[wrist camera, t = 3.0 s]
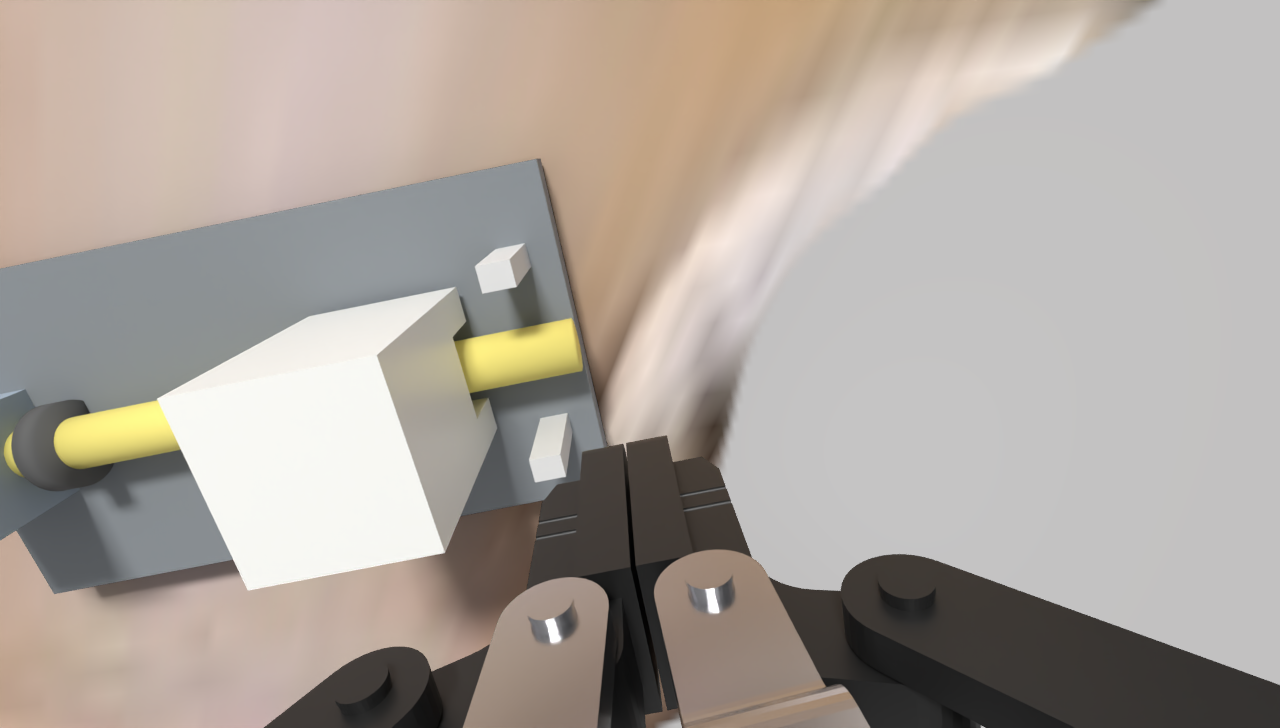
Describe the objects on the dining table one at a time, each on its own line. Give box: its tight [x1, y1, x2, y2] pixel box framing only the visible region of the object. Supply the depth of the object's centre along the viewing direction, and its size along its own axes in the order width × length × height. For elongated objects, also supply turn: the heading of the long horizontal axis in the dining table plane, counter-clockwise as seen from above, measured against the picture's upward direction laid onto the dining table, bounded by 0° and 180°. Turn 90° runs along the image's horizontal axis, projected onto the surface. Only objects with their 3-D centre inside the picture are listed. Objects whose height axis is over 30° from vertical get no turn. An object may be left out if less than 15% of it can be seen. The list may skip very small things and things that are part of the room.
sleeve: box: [157, 287, 497, 590], centre depth 18 cm, size 5×5×7 cm
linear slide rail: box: [0, 159, 607, 594], centre depth 21 cm, size 22×12×5 cm, turn 101°
